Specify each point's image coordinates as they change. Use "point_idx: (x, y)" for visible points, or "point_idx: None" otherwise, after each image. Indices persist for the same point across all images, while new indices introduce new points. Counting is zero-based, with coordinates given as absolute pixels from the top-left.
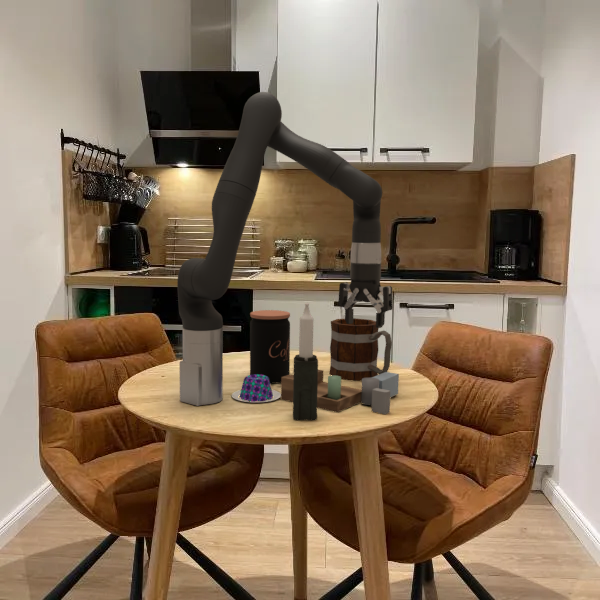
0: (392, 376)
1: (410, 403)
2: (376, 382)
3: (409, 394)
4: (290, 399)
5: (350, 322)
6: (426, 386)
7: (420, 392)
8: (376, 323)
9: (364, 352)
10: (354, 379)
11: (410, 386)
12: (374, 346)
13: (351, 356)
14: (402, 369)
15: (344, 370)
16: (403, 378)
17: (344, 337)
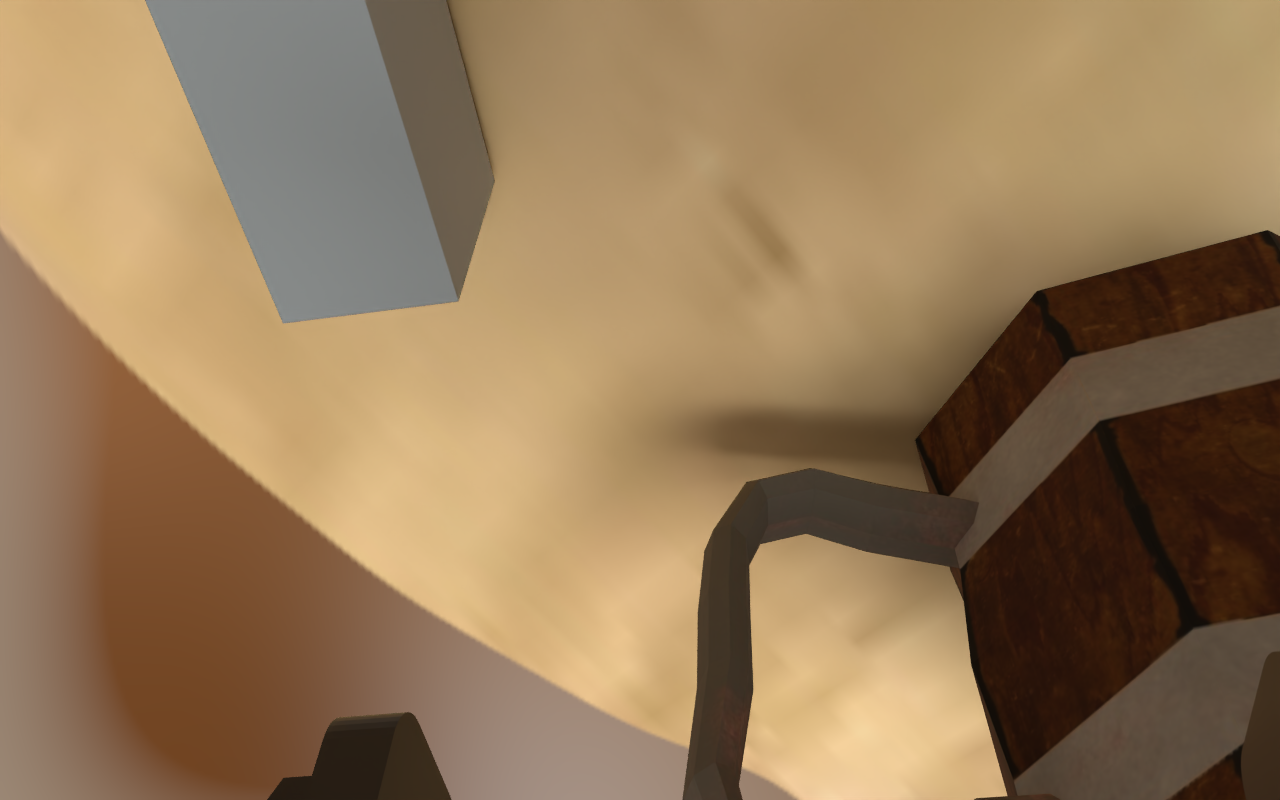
0: (221, 171)
1: (52, 54)
2: None
3: None
4: None
5: (1274, 725)
6: (421, 575)
7: (311, 415)
8: (362, 798)
9: (1042, 603)
10: (1038, 304)
11: (506, 497)
12: (1004, 770)
13: (1173, 464)
14: (889, 796)
15: (1204, 325)
16: None
17: None
